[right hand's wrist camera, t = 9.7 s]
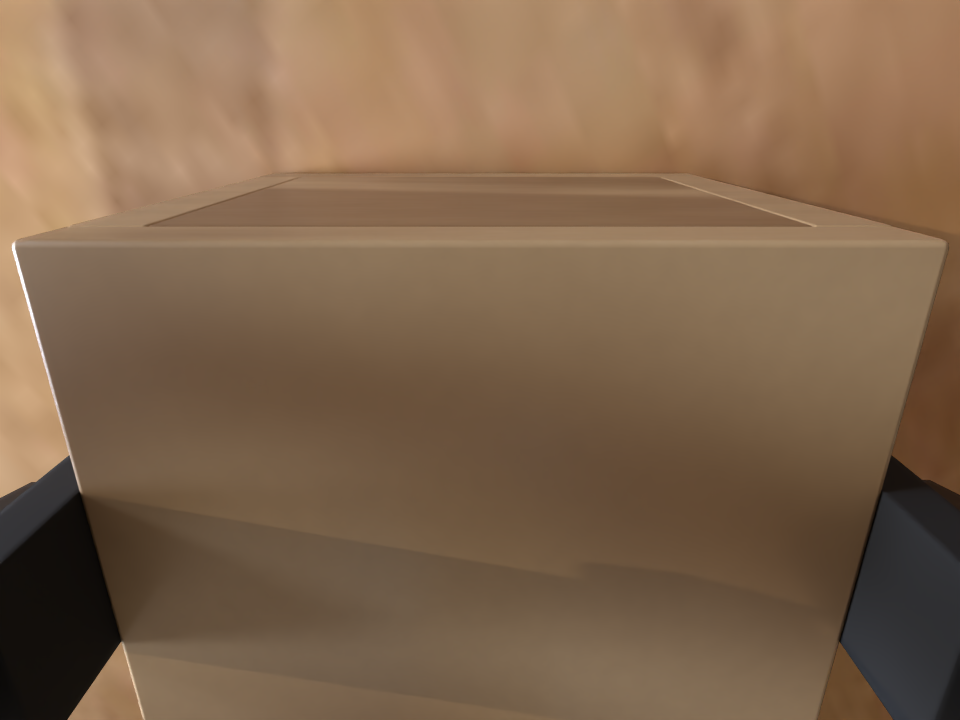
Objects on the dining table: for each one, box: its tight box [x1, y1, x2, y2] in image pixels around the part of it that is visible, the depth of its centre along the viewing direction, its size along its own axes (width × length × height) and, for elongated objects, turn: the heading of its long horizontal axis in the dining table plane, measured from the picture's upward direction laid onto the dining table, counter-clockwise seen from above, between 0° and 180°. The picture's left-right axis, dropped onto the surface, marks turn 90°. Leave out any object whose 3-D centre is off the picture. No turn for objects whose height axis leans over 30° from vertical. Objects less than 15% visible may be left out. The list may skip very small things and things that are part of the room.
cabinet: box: [12, 173, 949, 720], centre depth 16 cm, size 21×11×10 cm, turn 0°
